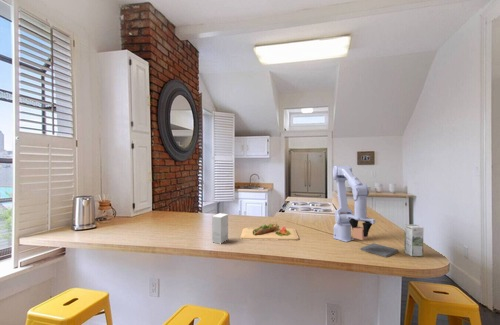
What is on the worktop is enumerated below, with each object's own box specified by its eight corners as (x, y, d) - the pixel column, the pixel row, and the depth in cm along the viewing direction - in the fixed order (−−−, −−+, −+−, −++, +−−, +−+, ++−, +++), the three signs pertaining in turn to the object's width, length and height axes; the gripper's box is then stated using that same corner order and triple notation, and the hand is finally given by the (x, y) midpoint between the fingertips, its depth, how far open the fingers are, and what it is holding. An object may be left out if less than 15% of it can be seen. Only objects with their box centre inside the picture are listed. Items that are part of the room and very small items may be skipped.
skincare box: (219, 238, 151) (219, 213, 151) (229, 240, 148) (228, 213, 148) (211, 242, 144) (211, 215, 144) (221, 244, 141) (221, 216, 141)
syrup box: (415, 252, 127) (415, 223, 127) (423, 256, 121) (423, 226, 121) (404, 252, 127) (404, 224, 127) (412, 257, 121) (412, 226, 121)
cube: (353, 237, 129) (353, 228, 129) (358, 236, 132) (358, 226, 132) (362, 240, 125) (362, 230, 125) (367, 238, 128) (367, 228, 128)
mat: (360, 249, 131) (360, 248, 131) (373, 245, 139) (373, 243, 139) (386, 257, 121) (386, 255, 121) (398, 251, 128) (398, 249, 128)
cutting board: (294, 230, 171) (294, 219, 171) (299, 241, 147) (299, 228, 147) (243, 230, 173) (243, 219, 173) (239, 240, 149) (239, 228, 149)
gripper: (343, 207, 132) (343, 233, 132) (370, 211, 121) (370, 239, 121) (351, 206, 137) (351, 231, 137) (377, 210, 125) (377, 237, 125)
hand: (360, 235), depth 129 cm, fingers closed on cube, 5 cm apart
